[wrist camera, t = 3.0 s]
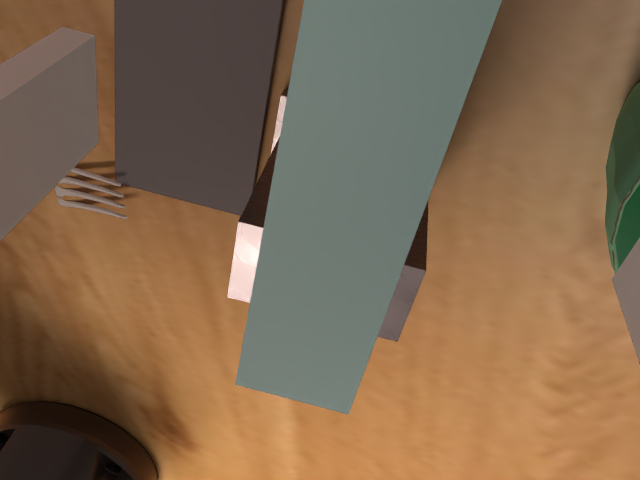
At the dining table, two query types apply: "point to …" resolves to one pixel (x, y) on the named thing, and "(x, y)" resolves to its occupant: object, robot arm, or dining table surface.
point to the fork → (70, 192)
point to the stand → (252, 235)
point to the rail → (353, 183)
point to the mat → (193, 96)
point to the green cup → (624, 182)
